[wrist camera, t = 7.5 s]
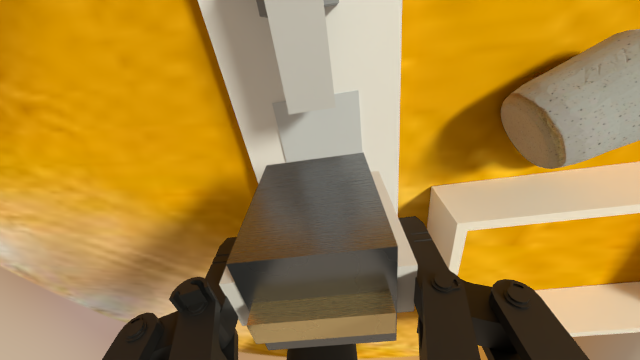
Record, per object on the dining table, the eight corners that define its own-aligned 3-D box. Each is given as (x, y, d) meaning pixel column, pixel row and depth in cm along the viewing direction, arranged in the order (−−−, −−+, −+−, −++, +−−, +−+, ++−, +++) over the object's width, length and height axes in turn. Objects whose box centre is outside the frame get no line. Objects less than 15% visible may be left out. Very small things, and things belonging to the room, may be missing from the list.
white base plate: (183, -68, 16) (106, -122, 10) (397, -114, 15) (446, -202, 9) (284, 248, 32) (276, 298, 26) (393, 236, 31) (411, 286, 25)
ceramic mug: (483, 88, 22) (555, 116, 15) (592, 25, 19) (732, 26, 13) (511, 173, 26) (574, 222, 20) (600, 131, 24) (706, 172, 17)
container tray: (431, 186, 27) (457, 223, 22) (763, 147, 24) (880, 178, 19) (419, 303, 38) (434, 346, 33) (644, 285, 36) (697, 327, 31)
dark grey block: (287, 236, 17) (264, 371, 10) (266, 165, 14) (217, 285, 7) (368, 227, 16) (401, 362, 10) (363, 152, 14) (405, 267, 7)
